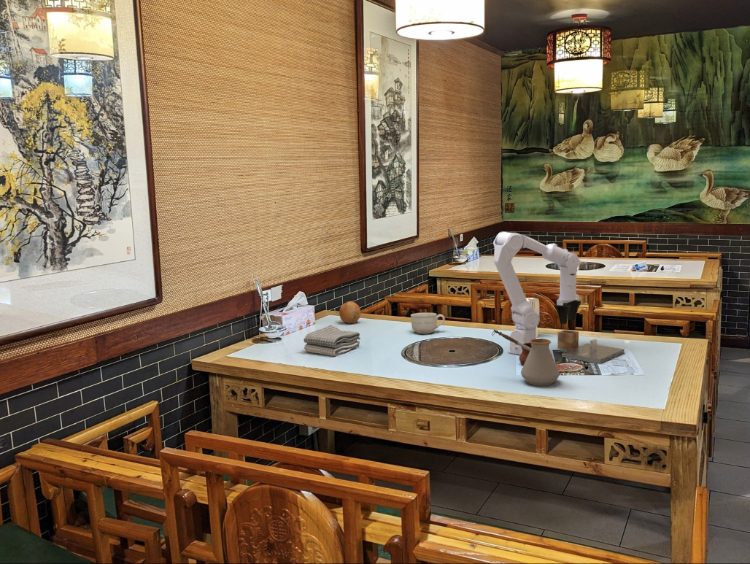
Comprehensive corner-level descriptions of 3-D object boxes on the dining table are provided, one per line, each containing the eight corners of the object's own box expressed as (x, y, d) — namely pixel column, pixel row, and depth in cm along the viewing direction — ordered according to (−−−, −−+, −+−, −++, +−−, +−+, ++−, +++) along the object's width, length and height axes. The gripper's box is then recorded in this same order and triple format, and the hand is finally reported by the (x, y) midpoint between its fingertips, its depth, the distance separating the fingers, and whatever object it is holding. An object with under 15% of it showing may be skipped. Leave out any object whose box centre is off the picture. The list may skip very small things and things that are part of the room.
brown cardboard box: (578, 347, 245) (578, 331, 245) (571, 350, 242) (571, 333, 241) (565, 345, 249) (565, 329, 248) (557, 348, 245) (557, 331, 245)
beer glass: (541, 338, 262) (541, 300, 260) (523, 338, 262) (523, 300, 260) (537, 334, 269) (537, 297, 267) (519, 334, 269) (519, 297, 267)
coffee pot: (564, 379, 207) (565, 332, 205) (552, 389, 197) (552, 339, 195) (499, 371, 218) (499, 325, 216) (485, 380, 209) (484, 332, 207)
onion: (352, 320, 310) (351, 298, 309) (365, 323, 303) (364, 301, 302) (335, 323, 304) (334, 301, 303) (348, 326, 297) (347, 304, 295)
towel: (302, 353, 251) (301, 333, 250) (330, 343, 267) (330, 324, 266) (336, 358, 243) (335, 336, 242) (363, 347, 259) (362, 327, 258)
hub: (599, 363, 223) (600, 347, 222) (561, 357, 233) (562, 341, 232) (624, 353, 235) (624, 337, 235) (587, 347, 245) (587, 332, 245)
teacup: (408, 335, 276) (407, 315, 275) (414, 329, 286) (414, 311, 285) (441, 336, 272) (441, 316, 271) (446, 330, 282) (446, 311, 281)
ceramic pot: (560, 358, 231) (559, 338, 230) (560, 373, 215) (559, 352, 214) (507, 358, 236) (506, 338, 235) (502, 372, 219) (502, 351, 218)
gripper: (570, 288, 236) (569, 326, 238) (586, 283, 247) (586, 319, 249) (551, 287, 240) (551, 324, 242) (568, 282, 251) (568, 317, 253)
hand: (567, 322), depth 246 cm, fingers open, 7 cm apart
